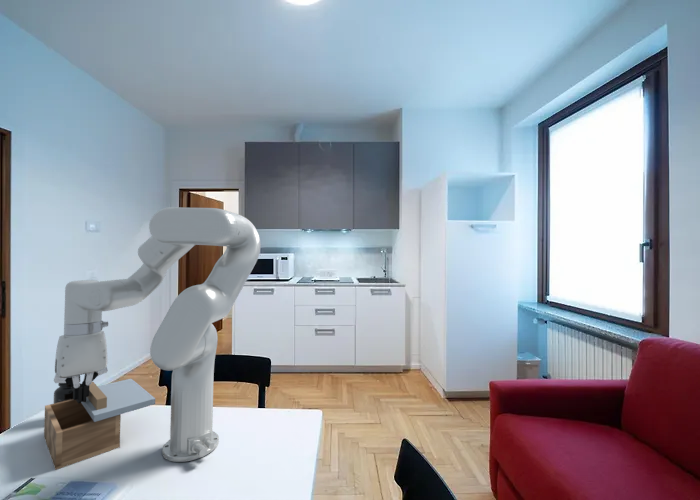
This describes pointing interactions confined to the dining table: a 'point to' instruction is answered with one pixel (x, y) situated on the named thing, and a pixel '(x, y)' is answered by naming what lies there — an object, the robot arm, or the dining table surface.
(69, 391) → the supplement bottle
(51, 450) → the toolbox
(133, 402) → the toolbox lid
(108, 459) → the dining table surface
